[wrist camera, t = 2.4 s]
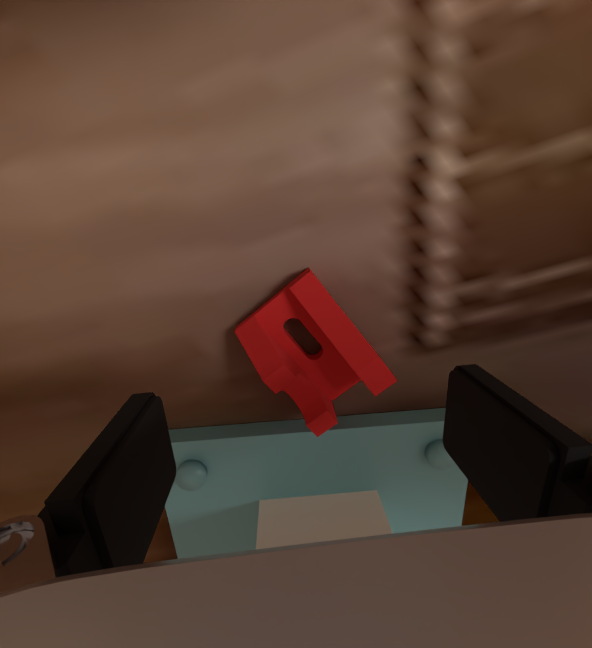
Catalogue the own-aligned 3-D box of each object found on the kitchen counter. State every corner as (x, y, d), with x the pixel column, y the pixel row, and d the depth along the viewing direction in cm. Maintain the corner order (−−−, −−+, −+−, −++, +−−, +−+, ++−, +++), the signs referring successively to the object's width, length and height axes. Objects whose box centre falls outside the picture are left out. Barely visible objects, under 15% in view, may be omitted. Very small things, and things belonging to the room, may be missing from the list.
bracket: (378, 355, 18) (397, 380, 15) (311, 403, 18) (317, 437, 16) (307, 266, 16) (314, 276, 13) (237, 324, 17) (228, 345, 14)
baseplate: (464, 406, 18) (483, 424, 17) (441, 590, 24) (453, 619, 22) (158, 430, 18) (145, 452, 16) (200, 613, 23) (194, 644, 21)
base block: (377, 489, 19) (419, 608, 13) (374, 572, 21) (410, 704, 15) (259, 500, 18) (250, 624, 13) (269, 581, 21) (265, 719, 15)
